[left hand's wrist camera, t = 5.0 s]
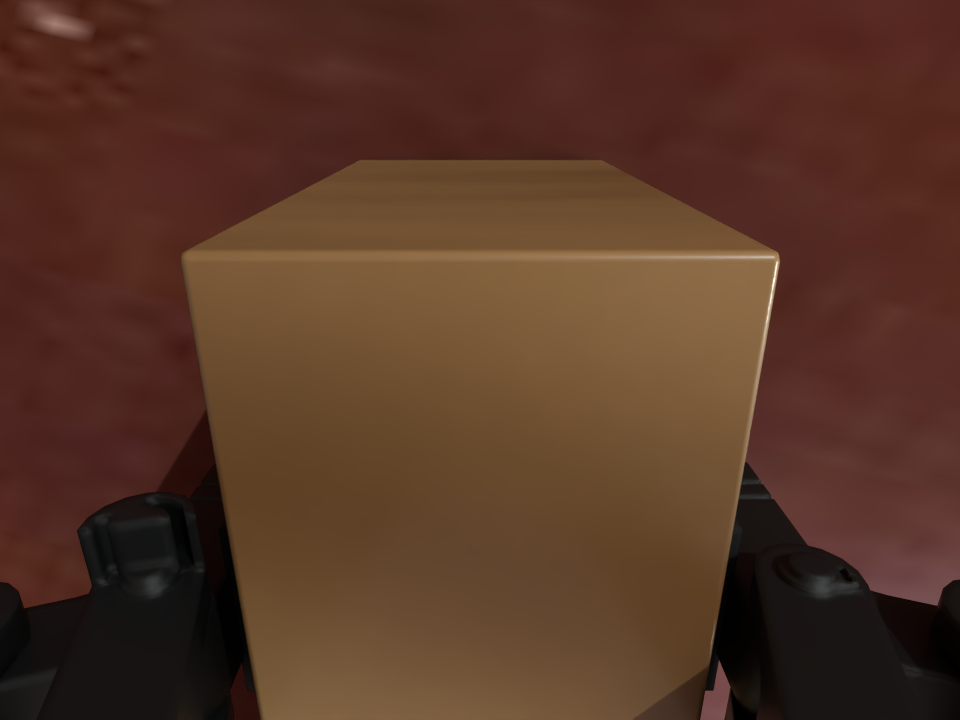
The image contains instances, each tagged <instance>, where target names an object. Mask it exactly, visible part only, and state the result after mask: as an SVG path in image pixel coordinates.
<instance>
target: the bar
mask: <svg viewBox="0 0 960 720" xmlns="http://www.w3.org/2000/svg"><path fill="white" fill-rule="evenodd" d="M779 263H780V259H779V255H778V252H776V251H774V250H772V249H770V248H768V247H766V246H765V245H763V244H761V243H759V242H757V241H755V240H753V239H751V238H749V237H747V236H745V235H743V234H742V233H740V232H738V231H736V230H734V229H732V228H730V227H728V226H726V225H724V224H722V223H721V222H719V221H717V220H715V219H713V218H711V217H709V216H707V215H705V214H703V213H701V212H699V211H698V210H696V209H694V208H692V207H690V206H688V205H686V204H684V203H682V202H680V201H678V200H677V199H675V198H673V197H671V196H669V195H667V194H665V193H663V192H661V191H659V190H657V189H655V188H654V187H652V186H650V185H648V184H646V183H644V182H642V181H640V180H638V179H636V178H634V177H633V176H631V175H629V174H627V173H625V172H623V171H621V170H619V169H617V168H615V167H613V166H611V165H610V164H608V163H606V162H604V161H602V160H360V161H357V162H355V163H353V164H352V165H350V166H348V167H346V168H344V169H342V170H340V171H338V172H336V173H334V174H332V175H330V176H328V177H327V178H325V179H323V180H321V181H319V182H317V183H315V184H313V185H311V186H309V187H307V188H305V189H303V190H302V191H300V192H298V193H296V194H294V195H292V196H290V197H288V198H286V199H284V200H282V201H280V202H278V203H277V204H275V205H273V206H271V207H269V208H267V209H265V210H263V211H261V212H259V213H257V214H255V215H253V216H252V217H250V218H248V219H246V220H244V221H242V222H240V223H238V224H236V225H234V226H232V227H230V228H228V229H227V230H225V231H223V232H221V233H219V234H217V235H215V236H213V237H211V238H209V239H207V240H205V241H203V242H202V243H200V244H198V245H196V246H194V247H192V248H190V249H188V250H186V251H184V252H183V253H182V257H181V266H182V272H183V278H184V283H185V289H186V295H187V301H188V306H189V312H190V318H191V324H192V329H193V335H194V341H195V347H196V352H197V358H198V364H199V370H200V375H201V381H202V387H203V393H204V398H205V404H206V410H207V416H208V421H209V427H210V433H211V439H212V444H213V450H214V456H215V462H216V467H217V473H218V479H219V485H220V490H221V496H222V502H223V508H224V513H225V519H226V525H227V531H228V536H229V542H230V548H231V554H232V559H233V565H234V571H235V577H236V582H237V588H238V594H239V600H240V605H241V611H242V617H243V623H244V628H245V634H246V640H247V646H248V651H249V657H250V663H251V669H252V674H253V680H254V686H255V692H256V697H257V703H258V709H259V715H260V720H700V717H701V711H702V705H703V700H704V694H705V688H706V683H707V677H708V671H709V665H710V660H711V654H712V648H713V642H714V637H715V631H716V625H717V619H718V614H719V608H720V602H721V596H722V591H723V585H724V579H725V573H726V568H727V562H728V556H729V550H730V545H731V539H732V533H733V528H734V522H735V516H736V510H737V505H738V499H739V493H740V487H741V482H742V476H743V470H744V464H745V459H746V453H747V447H748V441H749V436H750V430H751V424H752V418H753V413H754V407H755V401H756V395H757V390H758V384H759V378H760V373H761V367H762V361H763V355H764V350H765V344H766V338H767V332H768V327H769V321H770V315H771V309H772V304H773V298H774V292H775V286H776V281H777V275H778V269H779Z"/></svg>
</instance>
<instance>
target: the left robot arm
mask: <svg viewBox="0 0 960 720" xmlns="http://www.w3.org/2000/svg"><path fill="white" fill-rule="evenodd" d="M760 482H761V481H760V479H759V478H758V477H757V475H756V474H755V473H754V471H753V470H752V468H751V467H750V466H749V464H748V463H747V462H745V464H744V470H743V476H742V482H741V487H740V493H739V499H738V505H737V510H736V516H735V522H734V528H733V533H732V539H731V545H730V550H729V556H728V562H727V568H726V573H725V579H724V585H723V591H722V596H721V602H720V608H719V614H718V619H717V625H716V631H715V637H714V642H713V648H712V654H711V660H710V665H709V671H708V677H707V683H706V688H705V691H713V690H714V684H715V679H716V673H717V668H718V662H719V660H720V663H721V665H722V668H723V670H724V672H725V675H726V677H727V679H728V682H729V684H730V686H731V688H730V694H729V699H728V704H727V709H726V714H725V719H724V720H960V580H953V581H952V582H951V583H949V584H948V585H947V586H946V587H944V588H943V591H942V594H941V597H940V600H939V603H938V606H935V605H931V604H926V603H921V602H916V601H912V600H907V599H902V598H898V597H893V596H888V595H885V594H881V593H877V592H874V591H870V589H869V586H868V584H867V583H866V582H865V580H864V579H863V577H862V576H861V574H860V573H859V572H858V571H857V570H856V569H855V568H853V567H852V566H851V565H849V564H848V563H847V562H846V561H844V560H843V559H842V558H839V557H837V556H835V555H833V554H831V553H829V552H827V551H824V550H822V549H819V548H815V547H811V546H808V545H807V544H806V543H805V541H804V540H803V538H802V537H801V536H800V534H799V533H798V532H797V530H796V529H795V527H794V526H793V525H792V523H791V522H790V521H789V519H788V518H787V516H786V515H785V514H784V512H783V511H782V510H781V508H780V507H779V506H778V504H777V503H776V501H775V500H774V499H771V495H770V493H769V492H768V490H767V489H766V488H765V486H764V485H763V484H761V483H760ZM200 484H201V485H200V487H197V489H196V490H195V491H194V493H193V494H192V495H191V497H190V500H189V499H188V498H186V497H185V496H183V495H179V494H175V493H170V492H154V493H144V494H140V495H135V496H131V497H126V498H124V499H121V500H119V501H117V502H114V503H112V504H109V505H107V506H105V507H103V508H102V509H100V510H99V511H97V512H95V513H94V514H92V515H91V516H89V517H88V518H87V519H86V520H85V521H84V523H83V524H82V525H81V526H80V527H79V529H78V530H77V533H78V536H79V540H80V544H81V547H82V551H83V554H84V558H85V562H86V565H87V569H88V572H89V576H90V580H91V583H92V587H91V590H90V592H89V594H86V595H82V596H79V597H75V598H71V599H66V600H62V601H57V602H52V603H48V604H43V605H38V606H34V607H29V608H24V607H23V604H22V600H21V597H20V594H19V591H18V590H16V589H15V588H14V587H13V586H11V585H10V584H9V583H3V582H0V720H234V711H233V704H232V699H231V694H230V689H231V686H232V684H233V682H234V679H235V677H236V674H237V672H238V670H239V667H240V665H241V663H242V665H243V670H244V676H245V681H246V687H247V691H255V686H254V680H253V674H252V669H251V663H250V657H249V651H248V646H247V640H246V634H245V628H244V623H243V617H242V611H241V605H240V600H239V594H238V588H237V582H236V577H235V571H234V565H233V559H232V554H231V548H230V542H229V536H228V531H227V525H226V519H225V513H224V508H223V502H222V496H221V490H220V485H219V479H218V473H217V467H216V464H215V465H213V466H212V468H211V469H210V471H209V472H208V473H207V475H206V476H205V477H204V479H203V480H202V482H201V483H200Z"/></svg>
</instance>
